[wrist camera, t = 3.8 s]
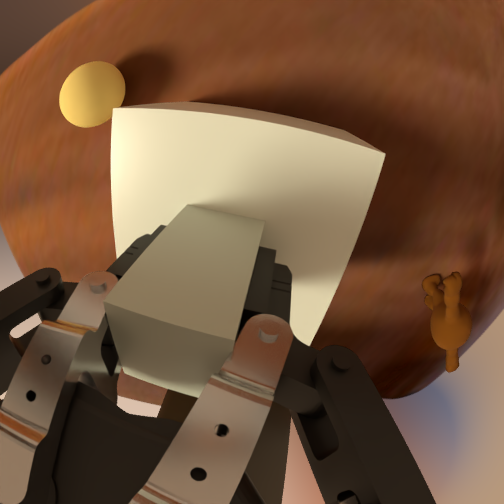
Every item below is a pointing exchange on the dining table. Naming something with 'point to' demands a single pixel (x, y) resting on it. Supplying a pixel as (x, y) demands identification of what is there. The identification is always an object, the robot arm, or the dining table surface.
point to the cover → (225, 227)
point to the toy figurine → (448, 316)
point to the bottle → (266, 449)
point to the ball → (92, 94)
